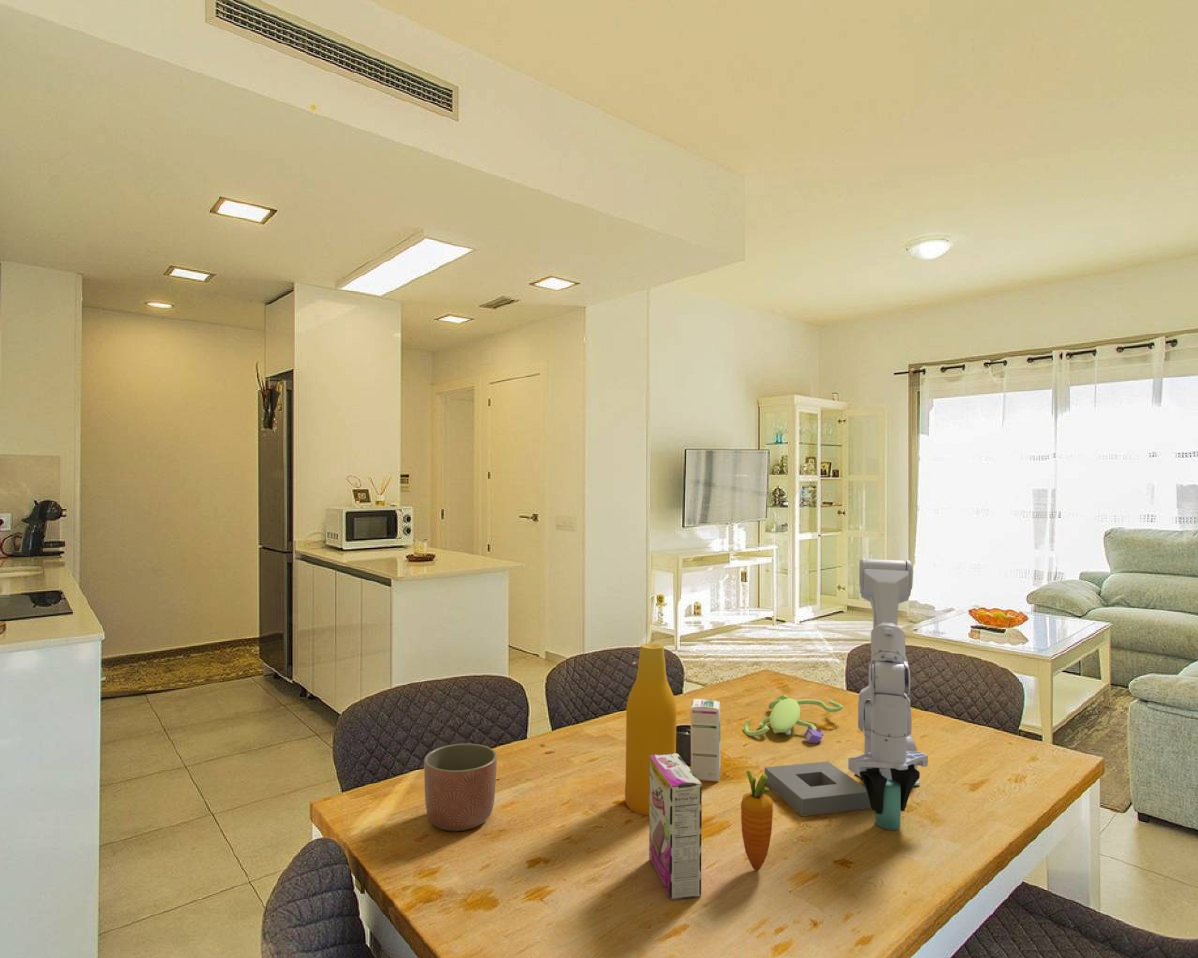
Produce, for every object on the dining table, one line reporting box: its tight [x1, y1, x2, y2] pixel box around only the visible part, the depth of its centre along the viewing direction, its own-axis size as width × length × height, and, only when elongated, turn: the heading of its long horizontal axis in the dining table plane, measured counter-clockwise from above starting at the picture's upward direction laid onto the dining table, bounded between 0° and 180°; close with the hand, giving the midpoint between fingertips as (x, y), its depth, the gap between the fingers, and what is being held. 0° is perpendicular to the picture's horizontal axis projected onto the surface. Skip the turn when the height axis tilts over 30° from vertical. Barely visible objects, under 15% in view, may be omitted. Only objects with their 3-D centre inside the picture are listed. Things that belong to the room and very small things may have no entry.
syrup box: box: [690, 698, 721, 782], centre depth 139 cm, size 6×6×14 cm
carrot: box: [740, 770, 774, 872], centre depth 105 cm, size 5×5×15 cm
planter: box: [423, 743, 498, 832], centre depth 119 cm, size 12×12×11 cm
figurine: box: [743, 694, 844, 744], centre depth 168 cm, size 18×27×6 cm
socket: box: [764, 760, 871, 817], centre depth 131 cm, size 14×14×3 cm
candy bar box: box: [648, 752, 703, 901], centre depth 102 cm, size 11×5×16 cm, turn 12°
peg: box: [874, 779, 902, 831], centre depth 119 cm, size 4×4×7 cm
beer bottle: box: [624, 642, 677, 816], centre depth 126 cm, size 9×9×29 cm
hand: (887, 809), depth 119 cm, fingers closed on peg, 4 cm apart
